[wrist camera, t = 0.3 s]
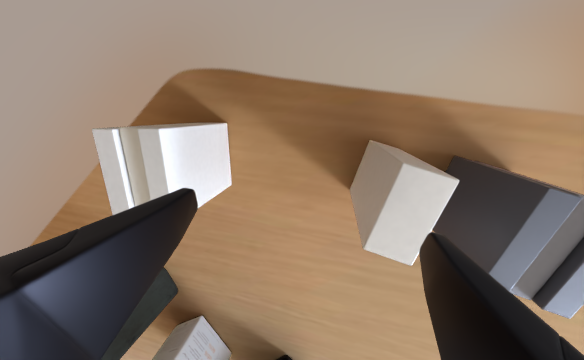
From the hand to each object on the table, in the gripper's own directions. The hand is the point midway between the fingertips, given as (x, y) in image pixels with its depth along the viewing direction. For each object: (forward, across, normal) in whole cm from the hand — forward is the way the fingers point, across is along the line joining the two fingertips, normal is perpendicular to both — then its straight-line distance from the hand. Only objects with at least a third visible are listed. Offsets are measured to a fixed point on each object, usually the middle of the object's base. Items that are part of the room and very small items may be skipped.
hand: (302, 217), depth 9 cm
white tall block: (+14, -6, +5) cm, 16 cm away
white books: (+14, +13, +6) cm, 20 cm away
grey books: (+14, -14, +6) cm, 21 cm away
